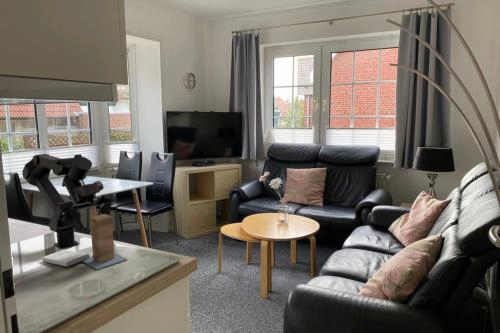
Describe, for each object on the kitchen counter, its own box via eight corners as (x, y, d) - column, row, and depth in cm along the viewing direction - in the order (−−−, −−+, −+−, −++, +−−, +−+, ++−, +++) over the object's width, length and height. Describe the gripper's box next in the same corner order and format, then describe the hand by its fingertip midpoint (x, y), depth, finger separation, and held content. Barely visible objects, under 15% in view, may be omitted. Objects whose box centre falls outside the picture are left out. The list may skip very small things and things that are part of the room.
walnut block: (93, 260, 116) (90, 217, 114) (107, 255, 120) (104, 214, 118) (100, 263, 114) (97, 219, 112) (114, 258, 118) (111, 216, 116)
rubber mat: (80, 261, 117) (80, 259, 117) (110, 252, 124) (110, 250, 124) (96, 270, 110) (96, 268, 109) (127, 260, 117) (127, 258, 117)
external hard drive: (66, 267, 111) (42, 261, 117) (89, 258, 118) (65, 253, 124) (65, 262, 110) (41, 256, 117) (89, 253, 117) (65, 248, 124)
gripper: (55, 177, 110) (76, 219, 105) (111, 170, 125) (132, 206, 120) (45, 199, 116) (65, 240, 111) (99, 189, 131) (119, 225, 126)
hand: (97, 226), depth 117 cm, fingers open, 9 cm apart
